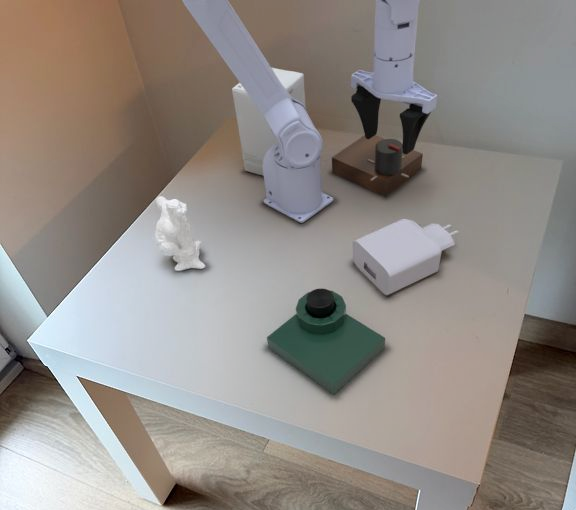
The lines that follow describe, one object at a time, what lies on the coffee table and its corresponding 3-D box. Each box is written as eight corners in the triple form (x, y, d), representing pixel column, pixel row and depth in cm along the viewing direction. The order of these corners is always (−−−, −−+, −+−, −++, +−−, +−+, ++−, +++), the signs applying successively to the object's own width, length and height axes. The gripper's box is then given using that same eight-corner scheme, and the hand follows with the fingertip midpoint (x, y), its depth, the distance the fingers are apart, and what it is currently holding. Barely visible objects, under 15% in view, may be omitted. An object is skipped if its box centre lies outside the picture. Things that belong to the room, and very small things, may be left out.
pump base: (267, 347, 73) (263, 327, 70) (320, 303, 77) (319, 282, 74) (334, 395, 68) (333, 376, 64) (388, 345, 71) (390, 325, 68)
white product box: (285, 183, 96) (275, 97, 84) (244, 171, 99) (229, 88, 87) (310, 157, 100) (305, 72, 88) (270, 146, 104) (260, 63, 92)
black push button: (301, 310, 72) (300, 299, 70) (320, 295, 73) (319, 284, 72) (321, 322, 70) (320, 312, 69) (340, 307, 72) (339, 296, 70)
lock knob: (369, 169, 91) (369, 145, 87) (385, 158, 92) (387, 133, 89) (389, 178, 88) (391, 154, 85) (406, 166, 90) (408, 142, 87)
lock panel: (327, 176, 96) (326, 159, 93) (368, 147, 100) (368, 131, 98) (390, 205, 89) (391, 188, 87) (432, 174, 93) (434, 157, 91)
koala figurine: (218, 266, 84) (201, 199, 75) (181, 285, 82) (158, 220, 73) (193, 239, 89) (174, 174, 79) (157, 257, 87) (133, 192, 77)
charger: (471, 258, 80) (387, 298, 77) (432, 226, 85) (352, 262, 82) (477, 232, 76) (389, 273, 73) (436, 200, 81) (352, 237, 78)
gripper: (454, 53, 74) (441, 146, 85) (372, 30, 81) (370, 119, 92) (423, 73, 71) (414, 167, 82) (341, 48, 78) (343, 138, 89)
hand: (389, 143), depth 87 cm, fingers open, 7 cm apart
